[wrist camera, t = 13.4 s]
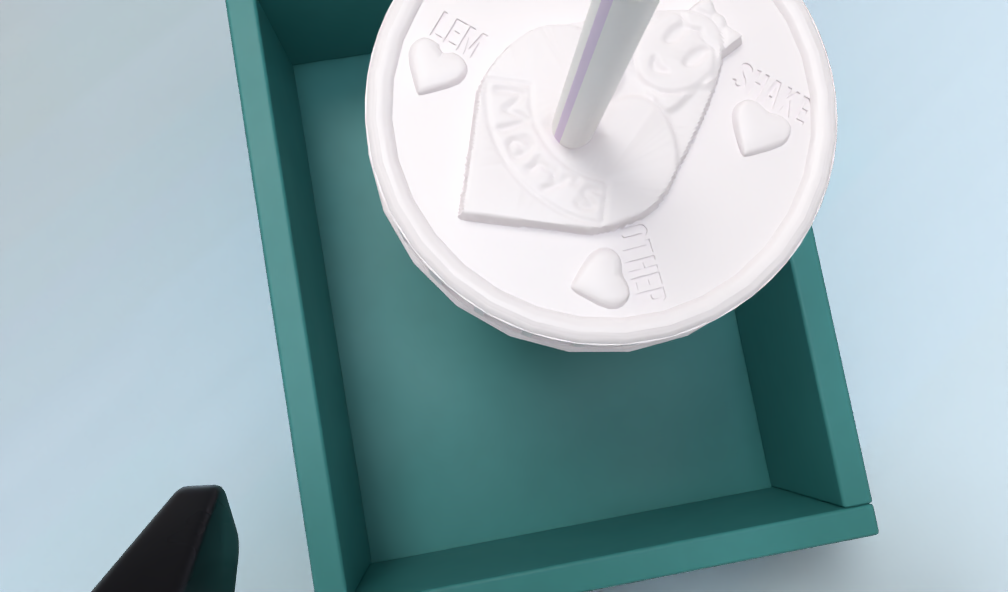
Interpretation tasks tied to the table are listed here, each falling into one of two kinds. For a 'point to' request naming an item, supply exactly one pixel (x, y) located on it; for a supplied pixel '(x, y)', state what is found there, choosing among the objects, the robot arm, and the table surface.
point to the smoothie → (600, 157)
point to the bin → (512, 381)
